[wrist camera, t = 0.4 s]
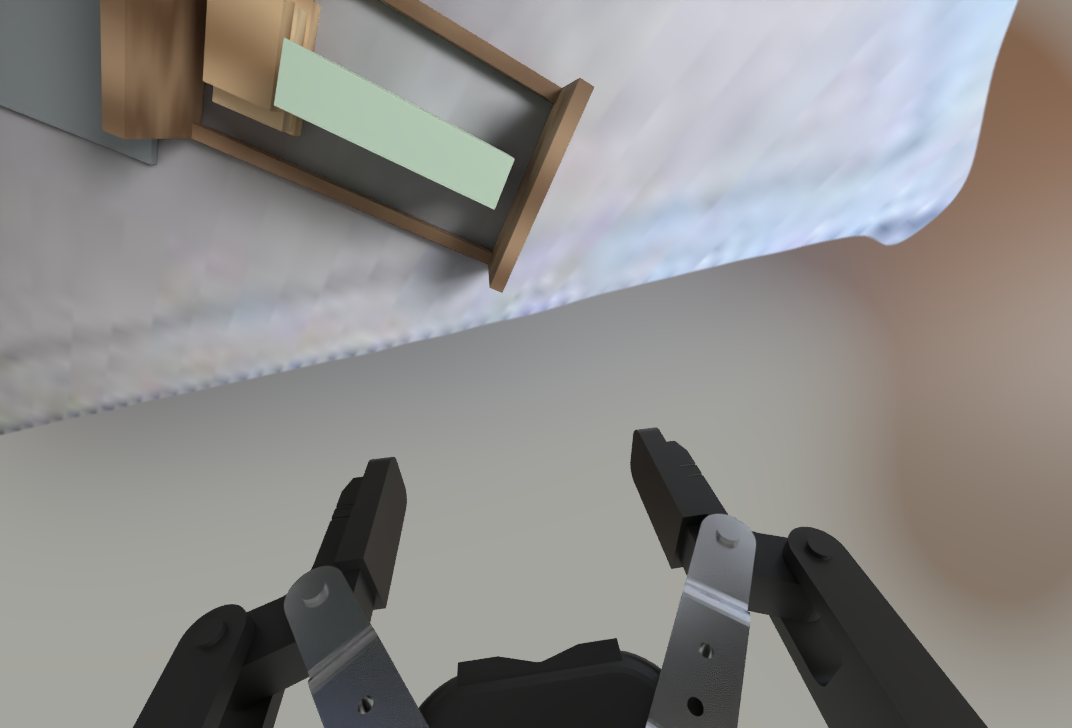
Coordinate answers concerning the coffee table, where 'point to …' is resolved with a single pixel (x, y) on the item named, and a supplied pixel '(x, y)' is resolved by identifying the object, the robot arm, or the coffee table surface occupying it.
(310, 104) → the pale green block
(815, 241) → the coffee table surface
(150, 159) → the rubber mat
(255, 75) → the offcut block
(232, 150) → the walnut rack
